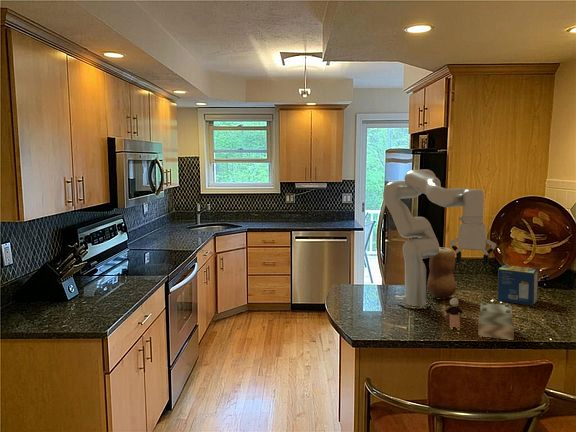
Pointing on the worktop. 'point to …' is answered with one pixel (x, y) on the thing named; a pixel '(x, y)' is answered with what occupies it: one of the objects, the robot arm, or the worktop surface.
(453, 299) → the grandmother figurine
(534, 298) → the protein box
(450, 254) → the butternut squash
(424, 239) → the robot arm
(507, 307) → the grey studded block
